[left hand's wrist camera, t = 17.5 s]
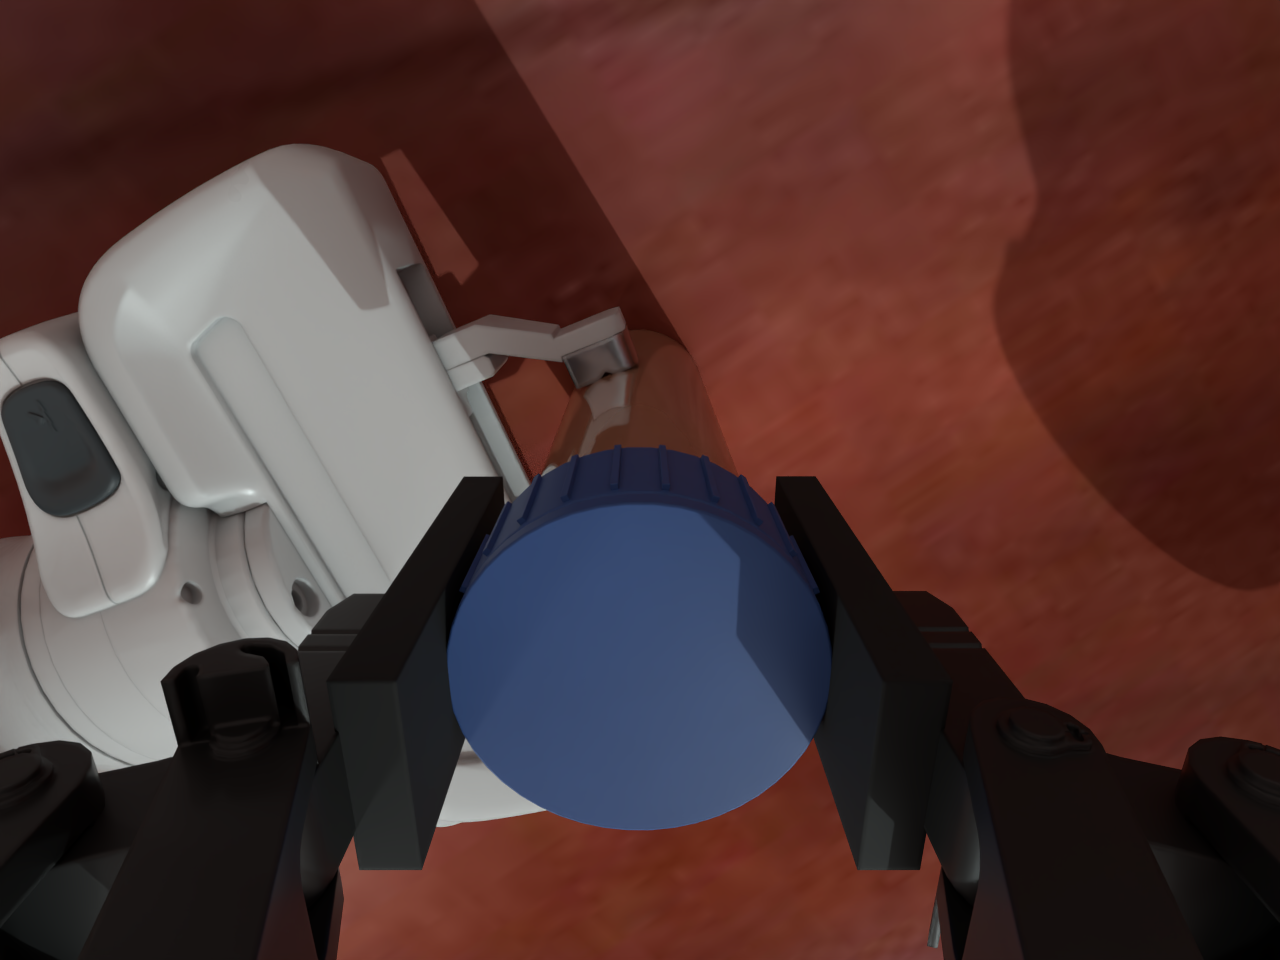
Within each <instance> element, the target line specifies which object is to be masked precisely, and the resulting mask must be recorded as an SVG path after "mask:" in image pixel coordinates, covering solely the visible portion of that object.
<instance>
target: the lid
mask: <svg viewBox="0 0 1280 960" xmlns="http://www.w3.org/2000/svg"><path fill="white" fill-rule="evenodd" d="M459 591H460V592H462V593H464V595H463V597H462V599H461V602H460V604H459V606H458V609H457V611H456V614H455V617H454V619H453V622H452V625H451V629H450V633H449V638H448V643H447V664H448V674H449V684H450V693H451V701H452V708H453V712H454V715H455V717H456V719H457V722H458V724H459V726H460V729H461V731H462V733H463V735H464V736H465V738H466V739H467V741H468V743H469V744H470V746H471V748H472V749H473V751H474V752H475V753H476V755H477V756H478V757H479V758H480V760H481V761H482V762H483V763H484V764H485V766H486V767H487V768H488V769H489V770H490V771H491V772H492V773H493V774H494V775H495V776H496V777H497V778H499V779H500V780H501V781H502V782H503V783H504V784H505V785H507V786H508V787H509V788H511V789H512V790H513V791H515V792H516V793H517V794H519V795H520V796H522V797H523V798H525V799H527V800H529V801H530V802H532V803H534V804H536V805H537V806H539V807H541V808H543V809H546V810H548V811H550V812H552V813H555V814H557V815H559V816H562V817H565V818H568V819H571V820H574V821H577V822H581V823H585V824H589V825H594V826H599V827H604V828H613V829H623V830H656V829H666V828H674V827H679V826H684V825H689V824H694V823H698V822H701V821H704V820H707V819H710V818H714V817H717V816H719V815H722V814H724V813H726V812H728V811H731V810H733V809H735V808H738V807H740V806H741V805H743V804H745V803H746V802H748V801H750V800H752V799H753V798H755V797H757V796H758V795H760V794H761V793H762V792H764V791H765V790H766V789H768V788H769V787H770V786H772V785H773V784H775V783H776V782H777V781H778V780H779V779H780V778H781V777H782V776H783V775H784V774H785V773H786V772H787V771H788V770H789V769H791V768H792V766H793V765H794V764H795V763H796V761H797V760H798V759H799V758H800V757H801V755H802V754H803V753H804V752H805V750H806V749H807V747H808V745H809V744H810V742H811V740H812V739H813V737H814V735H815V734H816V732H817V730H818V727H819V725H820V723H821V721H822V718H823V716H824V714H825V710H826V707H827V702H828V694H829V685H830V676H831V665H832V645H831V640H830V635H829V631H828V626H827V623H826V621H825V618H824V615H823V613H822V610H821V607H820V605H819V602H818V600H817V598H816V596H815V594H818V593H820V591H819V589H818V587H817V584H816V582H815V580H814V578H813V576H812V574H811V572H810V570H809V568H808V566H807V564H806V562H805V559H804V557H803V555H802V553H801V551H800V549H799V547H798V545H797V543H796V541H795V539H794V537H793V535H792V536H789V535H788V533H787V530H786V528H785V526H784V524H783V522H782V520H781V518H780V515H779V513H778V511H777V509H776V507H775V505H774V504H773V503H772V502H771V503H769V504H767V503H766V502H765V501H764V500H763V499H762V498H761V497H760V496H759V495H758V494H757V493H756V492H755V491H754V490H753V489H752V488H751V487H750V486H749V484H748V482H747V480H746V478H745V477H744V476H743V475H740V476H739V477H737V476H735V475H734V474H732V473H731V472H729V471H727V470H725V469H723V468H722V467H720V466H718V465H716V464H714V463H712V462H710V461H709V457H707V456H705V455H702V456H701V458H699V457H697V456H694V455H690V454H686V453H682V452H678V451H675V450H668V449H666V445H659V448H652V447H627V448H622V447H621V444H620V445H614V449H610V450H604V451H600V452H596V453H593V454H589V455H585V456H582V457H580V458H579V456H578V454H576V455H574V456H572V457H571V460H570V461H569V462H567V463H564V464H562V465H561V466H559V467H557V468H555V469H554V470H552V471H550V472H548V473H546V474H545V475H543V476H541V475H540V474H538V475H536V476H535V477H534V478H533V481H532V483H531V485H530V486H529V487H527V488H526V489H525V490H524V491H523V492H522V493H521V494H520V495H519V496H518V497H517V498H516V499H515V500H514V501H513V503H510V502H509V501H507V503H506V504H505V505H504V507H503V509H502V511H501V513H500V515H499V518H498V520H497V522H496V524H495V526H494V528H493V530H492V533H491V535H488V534H486V536H485V538H484V540H483V542H482V544H481V546H480V548H479V550H478V552H477V554H476V556H475V558H474V561H473V563H472V565H471V567H470V569H469V571H468V573H467V575H466V577H465V579H464V581H463V583H462V585H461V588H460V590H459Z"/></svg>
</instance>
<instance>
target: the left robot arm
mask: <svg viewBox="0 0 1280 960" xmlns="http://www.w3.org/2000/svg"><path fill="white" fill-rule="evenodd" d="M504 505H505V501H504V487H503V476H464V477H463V478H462V480H461V481H460V483H459V484H458V486H457V487H456V489H455V490H454V492H453V493H452V495H451V496H450V498H449V499H448V501H447V502H446V504H445V505H444V507H443V508H442V510H441V511H440V513H439V514H438V516H437V517H436V518H435V520H434V521H433V523H432V524H431V526H430V527H429V529H428V530H427V532H426V533H425V535H424V536H423V538H422V539H421V541H420V542H419V544H418V545H417V547H416V548H415V550H414V551H413V553H412V554H411V556H410V557H409V559H408V560H407V562H406V563H405V564H404V566H403V567H402V569H401V570H400V572H399V573H398V575H397V576H396V578H395V579H394V581H393V582H392V584H391V585H390V587H389V588H388V590H387V591H386V593H385V594H352V595H350V596H349V597H347V598H346V599H344V600H343V601H341V602H339V603H338V604H336V605H335V606H333V607H332V608H330V609H328V610H327V611H326V612H325V614H324V615H323V616H322V617H321V619H320V620H319V621H318V622H317V624H316V625H315V626H314V627H313V629H312V630H311V634H308V635H307V636H306V638H305V639H304V640H303V641H302V643H301V644H300V645H299V646H298V651H297V649H296V648H295V647H293V646H292V645H291V644H290V643H288V642H287V641H283V640H279V639H274V638H269V637H265V638H244V639H240V640H235V641H230V642H226V643H221V644H218V645H215V646H213V647H210V648H208V649H205V650H203V651H200V652H198V653H195V654H193V655H192V656H190V657H189V658H187V659H185V660H184V661H182V662H181V663H179V664H177V665H176V666H174V667H173V668H172V669H171V670H170V671H169V672H168V674H167V675H166V676H165V677H164V678H163V679H162V680H161V681H160V682H161V686H162V689H163V693H164V697H165V700H166V704H167V708H168V712H169V715H170V719H171V723H172V726H173V730H174V734H175V737H176V741H177V745H178V747H177V749H176V751H175V753H174V756H173V757H169V758H166V759H162V760H158V761H154V762H149V763H144V764H140V765H135V766H130V767H125V768H121V769H116V770H111V771H106V772H102V773H98V771H97V768H96V765H95V762H94V758H93V755H92V752H91V751H90V750H89V749H87V748H86V747H85V746H84V745H82V744H81V743H78V742H70V741H63V740H57V741H49V742H42V743H34V744H29V745H25V746H21V747H18V748H17V749H11V750H8V751H5V752H3V753H0V960H336V958H337V950H338V942H339V934H340V926H341V918H342V910H343V902H344V897H343V889H342V882H341V877H340V871H339V865H340V863H341V861H342V859H343V857H344V854H345V852H346V850H347V848H348V846H349V844H350V841H351V839H352V837H353V836H354V842H355V848H356V853H357V859H358V865H359V870H422V867H423V864H424V861H425V858H426V855H427V852H428V849H429V846H430V843H431V840H432V837H433V834H434V831H435V828H436V825H437V822H438V819H439V816H440V813H441V810H442V807H443V804H444V801H445V798H446V795H447V792H448V789H449V786H450V783H451V780H452V777H453V774H454V771H455V768H456V765H457V762H458V759H459V756H460V753H461V750H462V747H463V744H464V741H465V736H464V735H463V733H462V731H461V729H460V726H459V724H458V722H457V719H456V717H455V715H454V712H453V708H452V701H451V693H450V684H449V674H448V664H447V643H448V638H449V633H450V629H451V625H452V622H453V619H454V617H455V614H456V611H457V609H458V606H459V604H460V602H461V599H462V597H463V595H464V593H462V592H460V591H459V590H460V588H461V585H462V583H463V581H464V579H465V577H466V575H467V573H468V571H469V569H470V567H471V565H472V563H473V561H474V558H475V556H476V554H477V552H478V550H479V548H480V546H481V544H482V542H483V540H484V538H485V536H486V534H488V535H491V533H492V530H493V528H494V526H495V524H496V522H497V520H498V518H499V515H500V513H501V511H502V509H503V507H504ZM775 507H776V509H777V511H778V513H779V515H780V518H781V520H782V522H783V524H784V526H785V528H786V530H787V533H788V535H789V536H792V535H793V537H794V539H795V541H796V543H797V545H798V547H799V549H800V551H801V553H802V555H803V557H804V559H805V562H806V564H807V566H808V568H809V570H810V572H811V574H812V576H813V578H814V580H815V582H816V584H817V587H818V589H819V591H820V593H818V594H815V596H816V598H817V600H818V602H819V605H820V607H821V610H822V613H823V615H824V618H825V621H826V623H827V626H828V631H829V635H830V640H831V645H832V665H831V676H830V685H829V694H828V702H827V707H826V710H825V714H824V716H823V718H822V721H821V723H820V725H819V727H818V730H817V732H816V734H815V735H814V740H815V743H816V746H817V749H818V752H819V755H820V758H821V761H822V764H823V767H824V770H825V773H826V776H827V779H828V782H829V785H830V788H831V791H832V794H833V797H834V800H835V803H836V806H837V809H838V812H839V815H840V819H841V822H842V825H843V828H844V831H845V834H846V837H847V840H848V843H849V846H850V849H851V852H852V855H853V858H854V861H855V864H856V867H857V870H920V866H921V860H922V855H923V849H924V843H925V838H926V833H927V835H928V837H929V839H930V841H931V844H932V846H933V848H934V850H935V852H936V854H937V857H938V859H939V861H940V863H941V865H942V866H941V871H940V877H939V882H938V887H937V892H936V898H935V903H934V908H933V913H932V919H931V924H930V929H929V936H928V944H927V946H930V947H934V948H937V947H938V942H939V937H940V932H941V940H942V948H943V957H944V960H1280V750H1279V749H1276V748H1274V747H1271V746H1268V745H1266V746H1265V745H1262V744H1261V743H1257V742H1253V741H1249V740H1242V739H1234V738H1227V737H1214V738H1206V739H1200V740H1198V741H1197V742H1196V743H1195V744H1193V745H1192V746H1191V747H1190V748H1189V749H1188V752H1187V755H1186V758H1185V762H1184V765H1183V768H1182V770H1180V769H1175V768H1170V767H1165V766H1161V765H1156V764H1151V763H1146V762H1141V761H1137V760H1132V759H1127V758H1122V757H1119V756H1115V755H1111V754H1108V753H1106V752H1105V750H1104V748H1103V746H1102V744H1101V743H1100V742H1099V740H1098V739H1097V738H1096V737H1095V735H1094V734H1093V733H1092V731H1091V730H1090V729H1089V728H1087V727H1086V726H1085V725H1083V724H1082V723H1081V722H1079V721H1078V720H1076V719H1075V718H1074V717H1072V716H1071V715H1069V714H1067V713H1065V712H1063V711H1060V710H1058V709H1056V708H1054V707H1052V706H1049V705H1047V704H1044V703H1040V702H1036V701H1032V700H1028V699H1025V698H1024V697H1023V695H1022V694H1021V693H1020V692H1019V690H1018V689H1017V688H1016V687H1015V685H1014V684H1013V683H1012V682H1011V680H1010V679H1009V678H1008V677H1007V675H1006V674H1005V673H1004V672H1003V670H1002V669H1001V668H1000V667H999V665H998V664H997V663H996V662H995V660H994V659H993V658H992V657H991V655H990V654H989V653H988V652H987V650H986V649H985V648H982V646H981V643H980V642H979V640H978V639H977V638H976V637H975V635H974V634H973V633H972V632H969V630H968V627H967V625H966V624H965V623H964V622H963V620H962V619H961V618H960V617H959V615H958V614H957V613H956V611H955V610H954V609H953V608H952V607H950V606H949V605H947V604H946V603H944V602H942V601H941V600H939V599H938V598H936V597H935V596H933V595H931V594H930V593H928V592H927V591H892V589H891V588H890V586H889V585H888V583H887V582H886V580H885V579H884V577H883V576H882V575H881V573H880V572H879V570H878V569H877V567H876V566H875V564H874V563H873V561H872V560H871V558H870V557H869V555H868V554H867V552H866V551H865V549H864V548H863V546H862V545H861V543H860V542H859V540H858V539H857V537H856V536H855V534H854V533H853V531H852V530H851V528H850V527H849V526H848V524H847V523H846V521H845V520H844V518H843V517H842V515H841V514H840V512H839V511H838V509H837V508H836V506H835V505H834V503H833V502H832V500H831V499H830V497H829V496H828V494H827V493H826V491H825V490H824V488H823V487H822V485H821V484H820V482H819V481H818V479H817V478H816V476H776V491H775Z"/></svg>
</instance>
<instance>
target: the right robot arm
mask: <svg viewBox="0 0 1280 960" xmlns="http://www.w3.org/2000/svg"><path fill="white" fill-rule="evenodd" d="M509 356H516V357H524V358H532V359H540V360H548V361H556V362H563V361H564V363H565V365H566V367H567V369H568V371H569V374H570V376H571V378H572V380H573V382H574V384H575V387H576V389H579V388H582V387H585V386H587V385H590V384H592V383H595V382H596V381H598V380H600V379H601V378H602V376H603V375H604V373H605V372H608V373H612V374H615V373H619V372H623V371H625V370H627V369H629V368H631V367H633V366H634V365H636V364H637V363H638V361H639V360H638V357H639V355H638V353H637V350H636V348H635V345H634V342H633V340H632V337H631V334H630V332H629V329H628V326H627V324H626V321H625V319H624V316H623V314H622V312H621V309H620V307H615V308H611V309H608V310H605V311H603V312H600V313H598V314H596V315H593V316H591V317H588V318H586V319H583V320H581V321H578V322H576V323H574V324H571V325H569V326H566V327H564V328H560V326H559V325H558V324H551V323H544V322H538V321H531V320H525V319H518V318H511V317H505V316H498V315H492V314H490V315H487V316H485V317H483V318H480V319H478V320H475V321H473V322H471V323H468V324H466V325H463V326H461V327H459V328H456V327H455V325H454V323H453V321H452V319H451V317H450V314H449V312H448V310H447V308H446V306H445V304H444V302H443V300H442V298H441V296H440V294H439V292H438V290H437V287H436V285H435V283H434V281H433V279H432V277H431V275H430V273H429V271H428V269H427V267H426V265H425V263H424V260H423V258H422V256H421V254H420V252H419V250H418V248H417V246H416V244H415V242H414V240H413V238H412V236H411V234H410V232H409V230H408V227H407V225H406V223H405V221H404V219H403V217H402V215H401V213H400V211H399V209H398V207H397V205H396V203H395V200H394V198H393V196H392V194H391V192H390V190H389V188H388V185H387V183H386V182H385V180H384V178H383V176H382V174H381V173H380V172H379V171H378V169H376V168H375V167H374V166H373V165H371V164H369V163H367V162H365V161H362V160H360V159H358V158H355V157H353V156H350V155H348V154H346V153H343V152H340V151H337V150H334V149H331V148H327V147H323V146H319V145H311V144H289V145H283V146H279V147H276V148H273V149H269V150H267V151H265V152H263V153H260V154H258V155H256V156H254V157H252V158H249V159H247V160H245V161H244V162H242V163H240V164H238V165H236V166H234V167H232V168H230V169H228V170H227V171H225V172H223V173H221V174H219V175H218V176H216V177H214V178H212V179H211V180H209V181H207V182H205V183H203V184H202V185H200V186H198V187H197V188H195V189H193V190H192V191H190V192H189V193H187V194H185V195H184V196H182V197H181V198H179V199H177V200H176V201H174V202H173V203H171V204H170V205H168V206H167V207H165V208H163V209H162V210H160V211H159V212H157V213H156V214H154V215H153V216H152V217H150V218H149V219H148V220H146V221H145V222H143V223H142V224H141V225H139V226H138V227H136V228H135V229H134V230H132V231H131V232H130V233H128V234H127V235H125V236H124V237H123V238H121V239H120V240H119V241H118V242H117V243H115V244H114V245H113V246H112V247H111V248H109V249H108V250H107V251H106V252H105V253H104V255H103V256H102V257H101V258H100V259H99V260H98V261H97V263H96V264H95V265H94V266H93V268H92V270H91V271H90V273H89V274H88V276H87V278H86V280H85V282H84V285H83V287H82V290H81V294H80V298H79V305H78V312H76V313H72V314H69V315H65V316H62V317H58V318H55V319H51V320H48V321H45V322H42V323H39V324H36V325H34V326H31V327H28V328H26V329H23V330H20V331H18V332H15V333H13V334H10V335H8V336H5V337H3V338H1V339H0V436H1V439H2V442H3V444H4V447H5V450H6V452H7V455H8V458H9V461H10V464H11V467H12V470H13V473H14V475H15V478H16V481H17V484H18V488H19V491H20V494H21V497H22V501H23V504H24V507H25V511H26V515H27V519H28V523H29V527H30V531H31V535H30V536H15V537H8V538H1V539H0V753H3V752H5V751H8V750H11V749H17V748H18V747H21V746H25V745H29V744H34V743H42V742H49V741H57V740H63V741H70V742H78V743H81V744H82V745H84V746H85V747H86V748H87V749H89V750H90V751H91V752H92V755H93V758H94V762H95V765H96V768H97V771H98V773H102V772H106V771H111V770H116V769H121V768H125V767H130V766H135V765H140V764H144V763H149V762H154V761H158V760H162V759H166V758H169V757H173V756H174V753H175V751H176V749H177V747H178V745H177V741H176V737H175V734H174V730H173V726H172V723H171V719H170V715H169V712H168V708H167V704H166V700H165V697H164V693H163V689H162V686H161V682H160V681H161V680H162V679H163V678H164V677H165V676H166V675H167V674H168V672H169V671H170V670H171V669H172V668H173V667H174V666H176V665H177V664H179V663H181V662H182V661H184V660H185V659H187V658H189V657H190V656H192V655H193V654H195V653H198V652H200V651H203V650H205V649H208V648H210V647H213V646H215V645H218V644H221V643H226V642H230V641H235V640H240V639H244V638H265V637H269V638H274V639H279V640H283V641H287V642H288V643H290V644H291V645H292V646H293V647H295V648H296V649H297V651H298V646H299V645H300V644H301V643H302V641H303V640H304V639H305V638H306V636H307V635H308V634H311V630H312V629H313V627H314V626H315V625H316V624H317V622H318V621H319V620H320V619H321V617H322V616H323V615H324V614H325V612H326V611H327V610H328V609H330V608H332V607H333V606H335V605H336V604H338V603H339V602H341V601H343V600H344V599H346V598H347V597H349V596H350V595H352V594H385V593H386V591H387V590H388V588H389V587H390V585H391V584H392V582H393V581H394V579H395V578H396V576H397V575H398V573H399V572H400V570H401V569H402V567H403V566H404V564H405V563H406V562H407V560H408V559H409V557H410V556H411V554H412V553H413V551H414V550H415V548H416V547H417V545H418V544H419V542H420V541H421V539H422V538H423V536H424V535H425V533H426V532H427V530H428V529H429V527H430V526H431V524H432V523H433V521H434V520H435V518H436V517H437V516H438V514H439V513H440V511H441V510H442V508H443V507H444V505H445V504H446V502H447V501H448V499H449V498H450V496H451V495H452V493H453V492H454V490H455V489H456V487H457V486H458V484H459V483H460V481H461V480H462V478H463V477H464V476H503V487H504V501H505V504H506V503H507V501H509V502H510V503H513V501H514V500H515V499H516V498H517V497H518V496H519V495H520V494H521V493H522V492H523V491H524V490H525V489H526V488H527V487H529V486H530V485H531V483H530V480H529V478H528V476H527V474H526V472H525V470H524V468H523V466H522V464H521V462H520V460H519V458H518V456H517V453H516V451H515V449H514V447H513V445H512V443H511V441H510V439H509V437H508V435H507V433H506V431H505V429H504V426H503V424H502V422H501V420H500V418H499V416H498V414H497V412H496V410H495V408H494V406H493V404H492V402H491V400H490V397H489V395H488V393H487V391H486V389H485V387H484V385H483V383H482V381H483V380H485V379H488V378H490V377H493V376H494V375H495V374H496V373H497V371H498V370H499V369H500V368H501V367H502V366H503V365H504V364H505V363H506V361H507V360H508V357H509ZM545 810H546V809H543V808H541V807H539V806H537V805H536V804H534V803H532V802H530V801H529V800H527V799H525V798H523V797H522V796H520V795H519V794H517V793H516V792H515V791H513V790H512V789H511V788H509V787H508V786H507V785H505V784H504V783H503V782H502V781H501V780H500V779H499V778H497V777H496V776H495V775H494V774H493V773H492V772H491V771H490V770H489V769H488V768H487V767H486V766H485V764H484V763H483V762H482V761H481V760H480V758H479V757H478V756H477V755H476V753H475V752H474V751H473V749H472V748H471V746H470V744H469V743H468V741H467V739H466V738H465V741H464V744H463V747H462V750H461V753H460V756H459V759H458V762H457V765H456V768H455V771H454V774H453V777H452V780H451V783H450V786H449V789H448V792H447V795H446V798H445V801H444V804H443V807H442V810H441V813H440V816H439V819H438V822H437V825H436V827H446V826H451V825H455V824H458V823H461V822H475V821H485V820H492V819H499V818H505V817H512V816H518V815H523V814H529V813H534V812H540V811H545Z"/></svg>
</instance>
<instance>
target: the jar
mask: <svg viewBox="0 0 1280 960" xmlns="http://www.w3.org/2000/svg"><path fill="white" fill-rule="evenodd" d="M629 332H630V334H631V337H632V340H633V342H634V345H635V348H636V350H637V353H638V355H639V357H638V360H639V361H638V363H637V364H636V365H634V366H633V367H631V368H629V369H627V370H625V371H623V372H619V373H615V374H612V373H608V372H605V373H604V375H603V376H602V378H601V379H600V380H598V381H596V382H595V383H592V384H590V385H587V386H585V387H582V388H579V389H576V387H575V386H574V389H573V392H572V394H571V397H570V400H569V402H568V405H567V407H566V410H565V413H564V415H563V418H562V420H561V423H560V426H559V428H558V431H557V433H556V436H555V439H554V441H553V444H552V446H551V449H550V452H549V454H548V457H547V459H546V462H545V465H544V467H543V470H542V473H541V476H543V475H545V474H546V473H548V472H550V471H552V470H554V469H555V468H557V467H559V466H561V465H562V464H564V463H567V462H569V461H570V460H571V457H572V456H574V455H576V454H578V456H579V458H580V457H582V456H585V455H589V454H593V453H596V452H600V451H604V450H610V449H614V445H620V444H621V447H622V448H627V447H652V448H659V445H666V449H668V450H675V451H678V452H682V453H686V454H690V455H694V456H697V457H699V458H701V456H702V455H705V456H707V457H709V461H710V462H712V463H714V464H716V465H718V466H720V467H722V468H723V469H725V470H727V471H729V472H731V473H732V474H734V475H735V476H737V477H739V475H738V473H737V470H736V467H735V465H734V462H733V459H732V457H731V454H730V452H729V449H728V446H727V444H726V441H725V438H724V436H723V433H722V431H721V428H720V425H719V423H718V420H717V417H716V415H715V412H714V410H713V407H712V404H711V402H710V399H709V397H708V394H707V391H706V389H705V386H704V383H703V381H702V378H701V376H700V373H699V370H698V368H697V366H696V364H695V362H694V360H693V359H692V357H691V355H690V354H689V353H688V352H687V351H686V349H685V348H684V347H682V346H681V345H680V344H679V343H678V342H676V341H675V340H673V339H672V338H670V337H668V336H666V335H664V334H661V333H658V332H654V331H649V330H630V331H629Z"/></svg>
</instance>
